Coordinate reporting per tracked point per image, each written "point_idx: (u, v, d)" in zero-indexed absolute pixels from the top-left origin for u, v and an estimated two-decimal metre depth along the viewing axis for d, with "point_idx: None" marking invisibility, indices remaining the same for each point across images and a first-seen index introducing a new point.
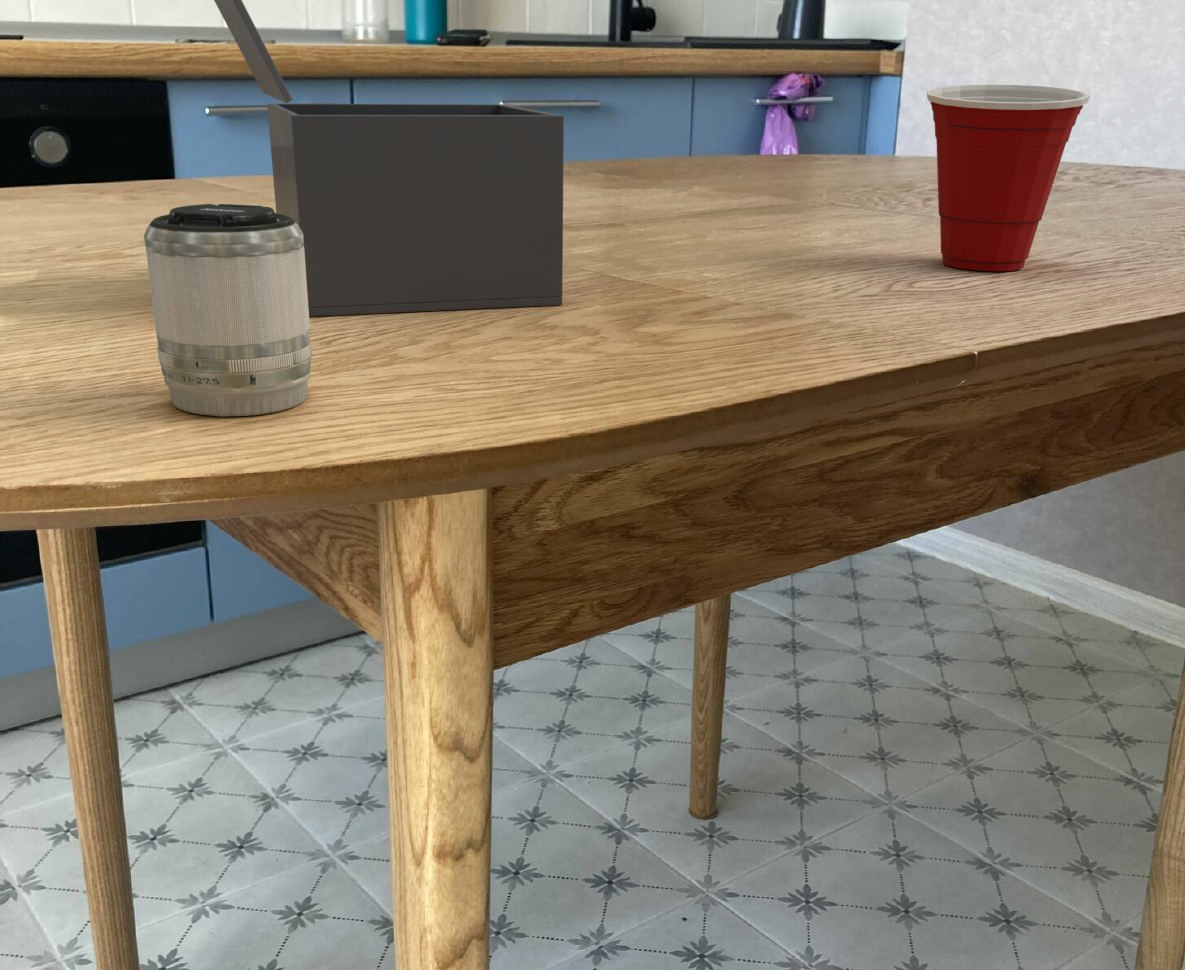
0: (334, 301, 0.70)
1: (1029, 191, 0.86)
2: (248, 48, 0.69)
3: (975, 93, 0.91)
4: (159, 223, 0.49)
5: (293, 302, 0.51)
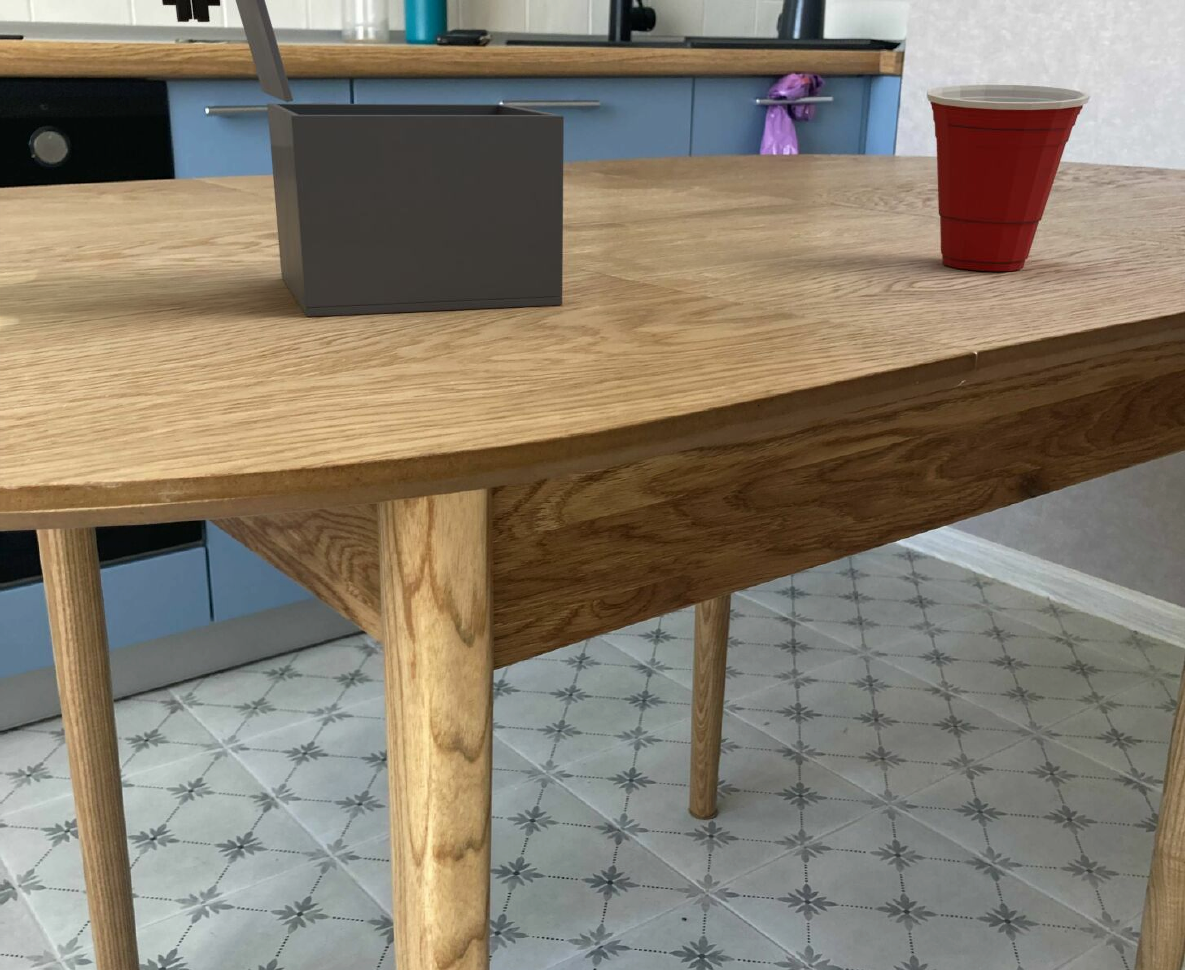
0: (334, 301, 0.70)
1: (1029, 191, 0.86)
2: (258, 43, 0.69)
3: (975, 93, 0.91)
4: None
5: None
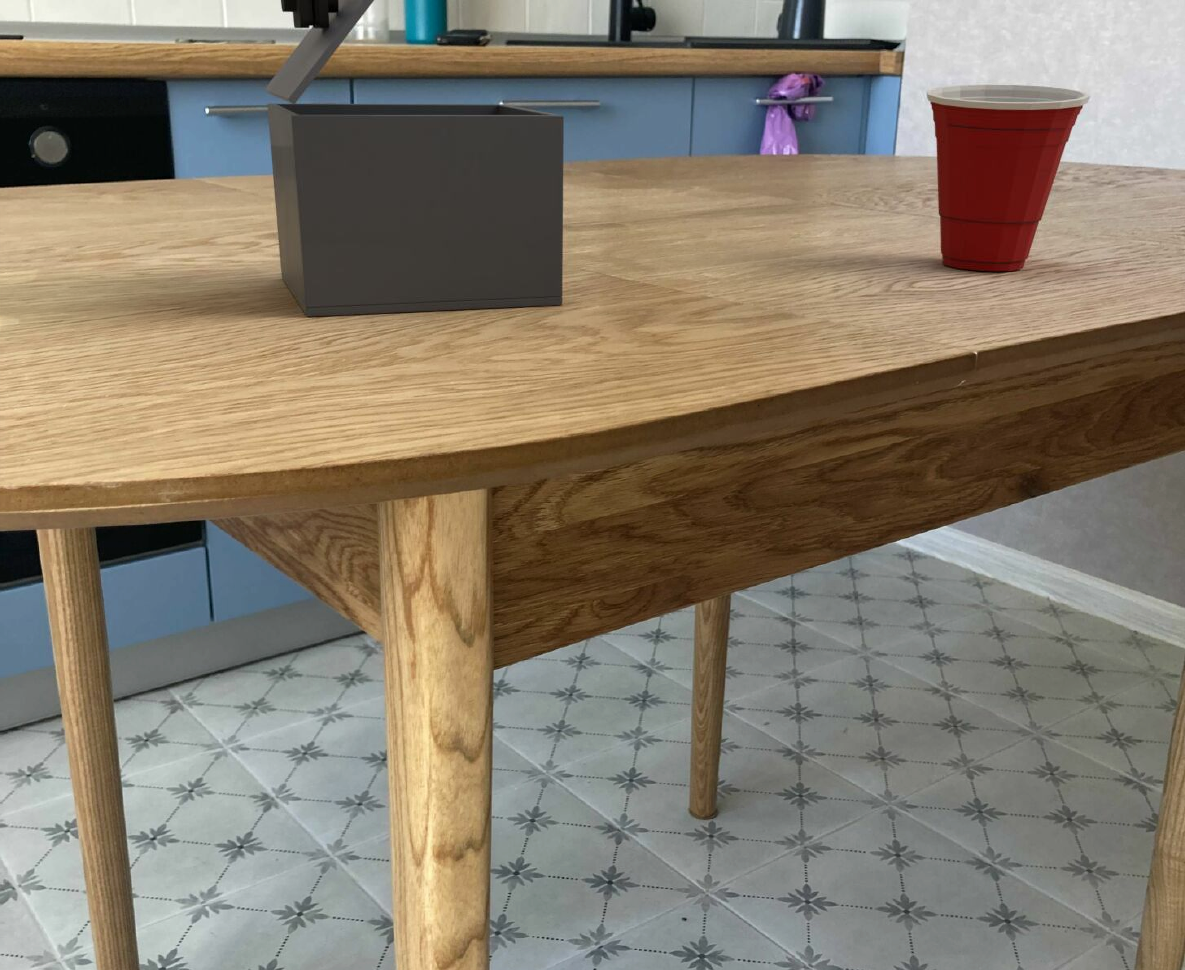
0: (334, 301, 0.70)
1: (1029, 191, 0.86)
2: (306, 54, 0.70)
3: (975, 93, 0.91)
4: None
5: None
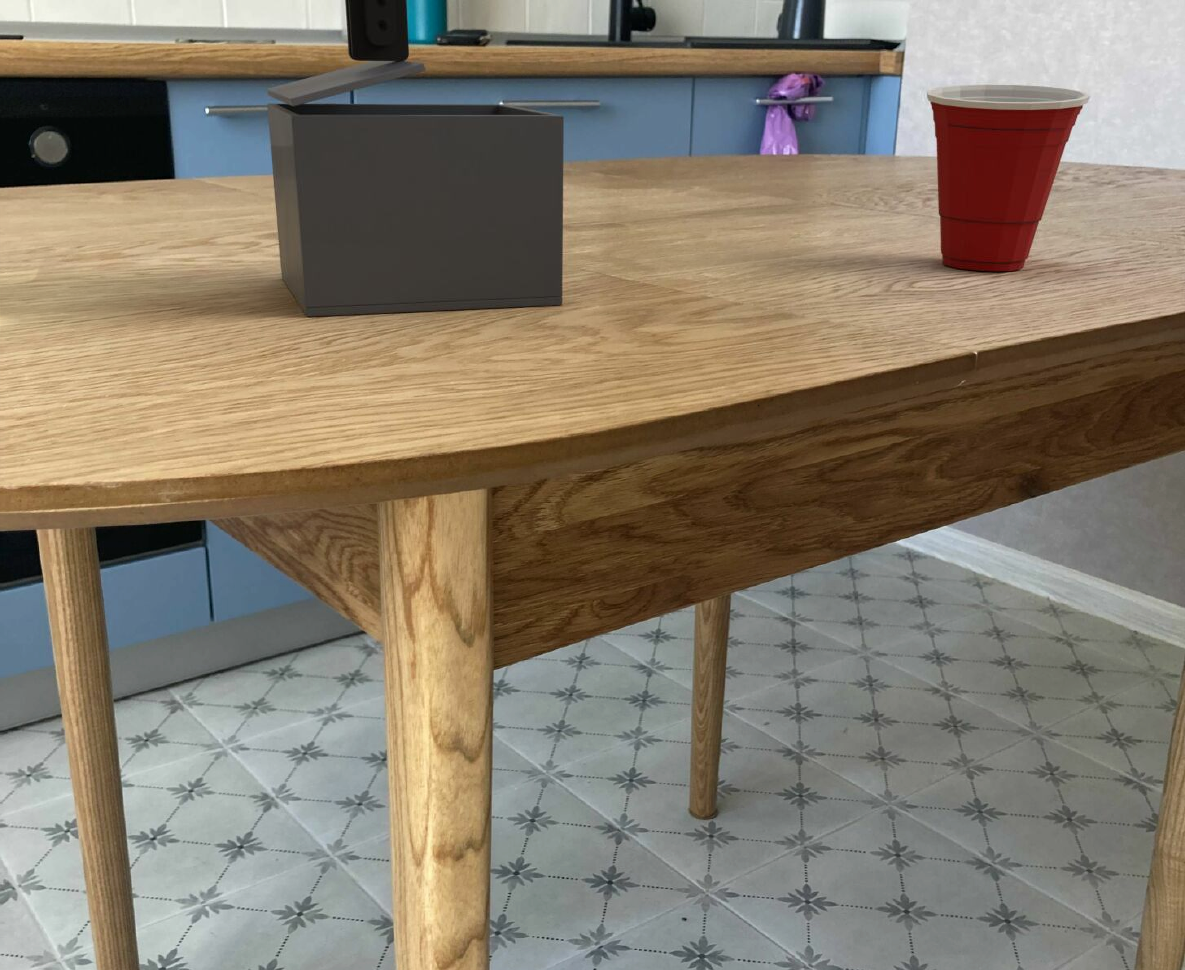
0: (334, 301, 0.70)
1: (1029, 191, 0.86)
2: (326, 80, 0.71)
3: (975, 93, 0.91)
4: None
5: None
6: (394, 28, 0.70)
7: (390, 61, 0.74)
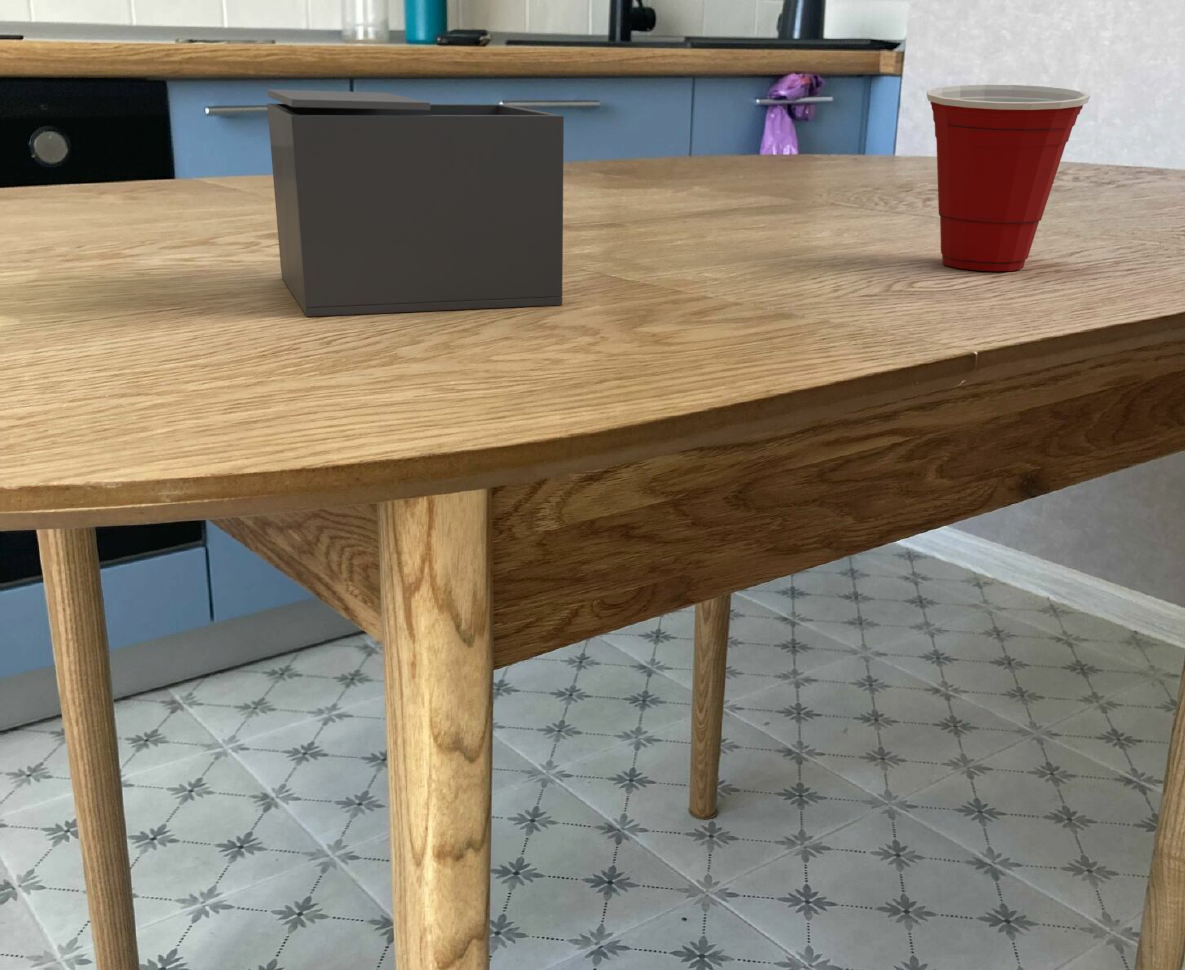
0: (334, 301, 0.70)
1: (1029, 191, 0.86)
2: (329, 95, 0.72)
3: (975, 93, 0.91)
4: None
5: None
6: None
7: None
